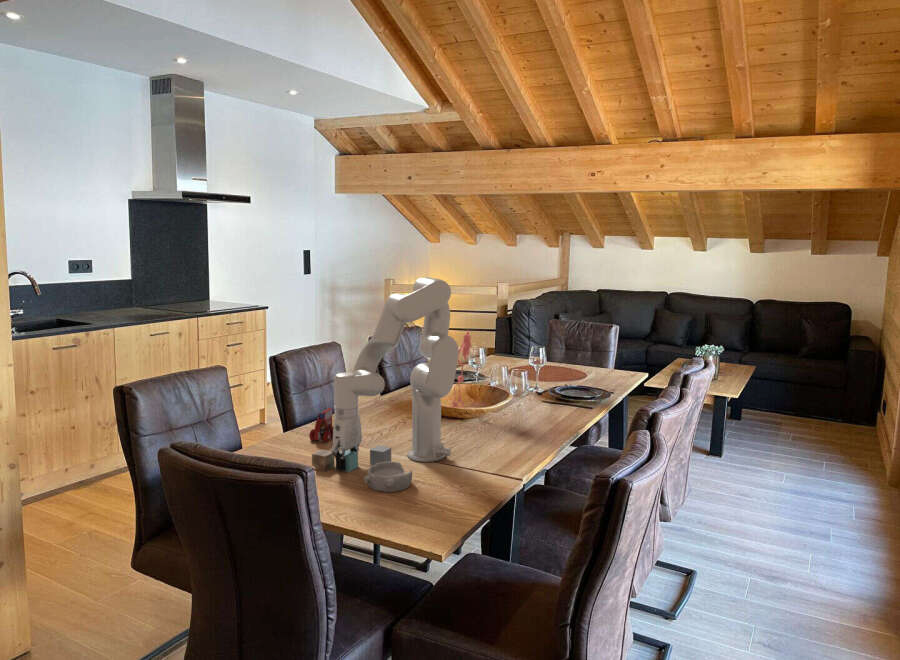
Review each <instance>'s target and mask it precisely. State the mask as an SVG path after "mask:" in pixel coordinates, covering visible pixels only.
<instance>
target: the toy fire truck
mask: <svg viewBox="0 0 900 660" xmlns="http://www.w3.org/2000/svg"><path fill="white" fill-rule="evenodd" d="M333 413H334V408H332V407H329V408H326V409H325V410H323V411H322V412H320V413H318V416H317V417H318V418H317V419H316V422H315V425H314V428H312V429H311V430H310V432H309V440H310V441H313V440H315V441H320V440H322V441H324V443H329V442H330V441H331V439H333V427H334V426H333V415H334V414H333Z"/></svg>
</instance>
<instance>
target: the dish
mask: <svg viewBox="0 0 900 660" xmlns="http://www.w3.org/2000/svg"><path fill="white" fill-rule="evenodd" d="M412 478H413V470H412V469H410V470H409V471H408V472H406V471H405V469H404V467H403V466H402V463H400V462H398V461H392V460H391V461H390V462H381V463H376V464H375V465H371V466H370V467H369V468H368V470H367V475H365V476H363V481H364V483H365V484H366V485H368V487H370V489H372V490H375V491H378V492H385V493H386V492H387V493H393V492H400V491H403V490H405V489H408V488H409V487H410V486H411V484H412Z"/></svg>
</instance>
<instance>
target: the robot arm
mask: <svg viewBox="0 0 900 660" xmlns="http://www.w3.org/2000/svg"><path fill="white" fill-rule="evenodd" d="M412 291H413V292H410V293H409V294H407V293H406V294H405V293H399V292H398V293H393V294H391V295H389V296H388V297H387V298H386V301H385V304H384V305H383V307H382V310H381V313H380V316H379V318H378V320H377V323H376V326H375V329H374V332H373V333H372V335H371V337H370V338H369V340H368V341H367V342H366V344H365V346H364V347H363V348H362V349H361V351H360V353H359V355H358V356H357V359H356V362H355V364H354V368H353V370H352V372H345V371H344V372H338V373H336V374H335V375H334V377H333V394H334V395H333V400H334V401H333V403H334V404H333V405H334V408H333V413H334V414H333V415H334V420H333V421H334V422H333V426H332V427H333V438H332V446H331V448H330V451H331V452H332V453H333V455H334V459H335V470H336V471H341V472H346V471H345V458H344V455H345V451H353V452H358V453H359V450H360V445H361V443H362V442H363V440H362V439H363V436H362V435H363V433H362V422H361V421H362V420H361V417H360V416H361V415H360V414H359V412H360V411H359V396H361V397H362V396H363V397H364V396H365V397H375V396H376V397H377V396H378V395H380V394H381V393H382V392H384V389H385V388H386V387H385V385H386V383H385V382H386V381H385V380H384V377H382V375H380V374H379V373H378V372H376V371H377V368H378V366H379V364H380V362H381V360H382V358H383V357H384V356H385V355H386V354H387V353H389V352H390V351H391V352H392V350H394V349H396V347H397V346H398V345H399V343H400V340H401V337H402V334H403V332H404V329H405V327H406V324H407V323H412V322H416V321H417V320H420V319H422V318H424V319H423V325H422V330H421V331H422V332H421V337H420V341H419V342H420V343H419V352H420V355H422V357H424V359H427V360H428V361H429V363H428V362H421V363H419V364H417V365H416V366H414V367H413V369H412V370H411V373H410V379H409V380H410V381H409V383H410V389H411V399H412V412H411V413H412V417H411V418H412V420H411V421H412V424H411V427H412V428H411V429H412V432H411V433H412V435H411V436H412V438H411V440H412V441H411V442H412V443H411V444H412V449H410V450H409V451H408V452H407V458H408V459H410V460H412V461H415V462H423V463H430V462H438V461H440V460H443V459H445V457H446V456H447V457H450V456H451V454H452V449H451V448H450V447H445V446H444V442H441V440H442V439H441V438H442V436H441V435H442V434H441V433H442V432H441V430H442V399H441V398H445V397H446V396H447V395H449V394H450V392H451V390H452V388H453V386H454V382H455V376H456V372H457V366H458V360H459V357H458V356H460V354H459V350H460V348H459V345H458V342H457V341H456V339H454V338H453V336H451V335H449V333H450V331H449V330H450V323H451V309H450V306H449V300H450V299H451V295H452V289H451V287H450V285H449V284H448V282H446V281H445V280H443V279H440V278H435V277H428V276H427V277H425V276H424V277H419V278H418V279H416V281H415V282H414V283H413V287H412ZM340 452H342V453H340Z"/></svg>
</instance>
